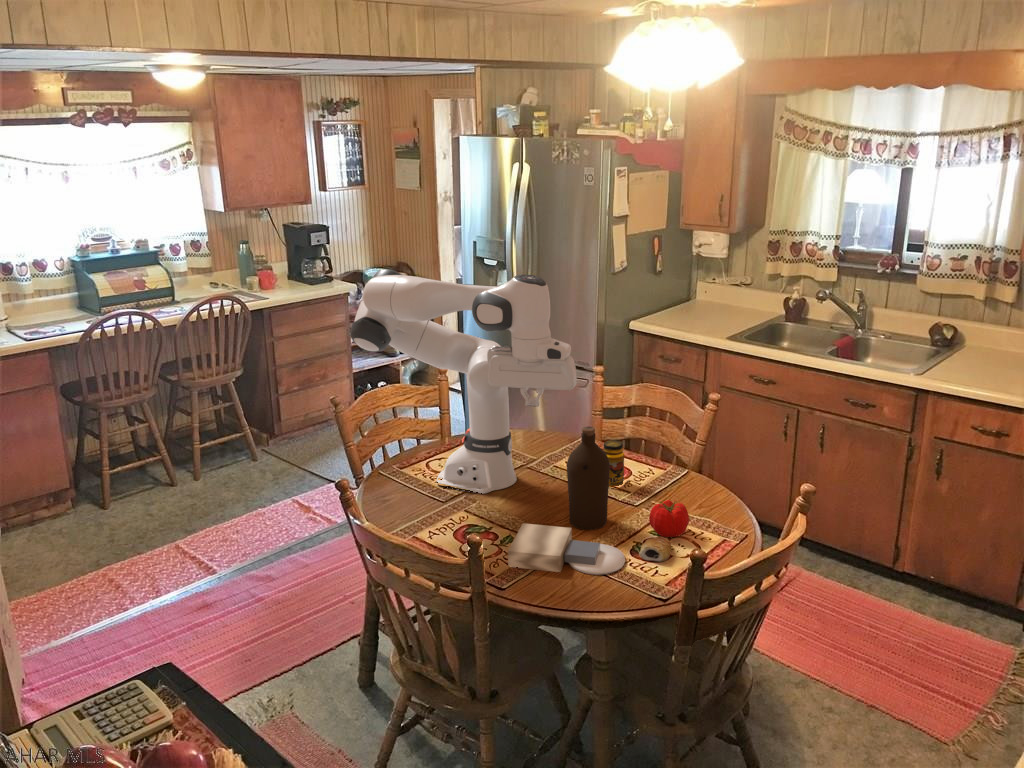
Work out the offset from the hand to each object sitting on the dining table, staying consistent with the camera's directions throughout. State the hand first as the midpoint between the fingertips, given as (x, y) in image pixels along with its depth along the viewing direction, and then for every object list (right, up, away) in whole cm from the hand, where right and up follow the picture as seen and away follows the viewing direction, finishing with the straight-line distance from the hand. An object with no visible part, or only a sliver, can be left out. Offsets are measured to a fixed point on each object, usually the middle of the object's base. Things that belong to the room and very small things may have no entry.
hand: (532, 405), depth 192 cm
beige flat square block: (+2, -35, +3) cm, 35 cm away
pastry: (+29, -35, +2) cm, 45 cm away
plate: (+15, -35, 0) cm, 38 cm away
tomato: (+33, -31, +12) cm, 47 cm away
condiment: (+23, -23, +41) cm, 52 cm away
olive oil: (+14, -30, +19) cm, 38 cm away
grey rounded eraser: (+11, -35, 0) cm, 36 cm away
